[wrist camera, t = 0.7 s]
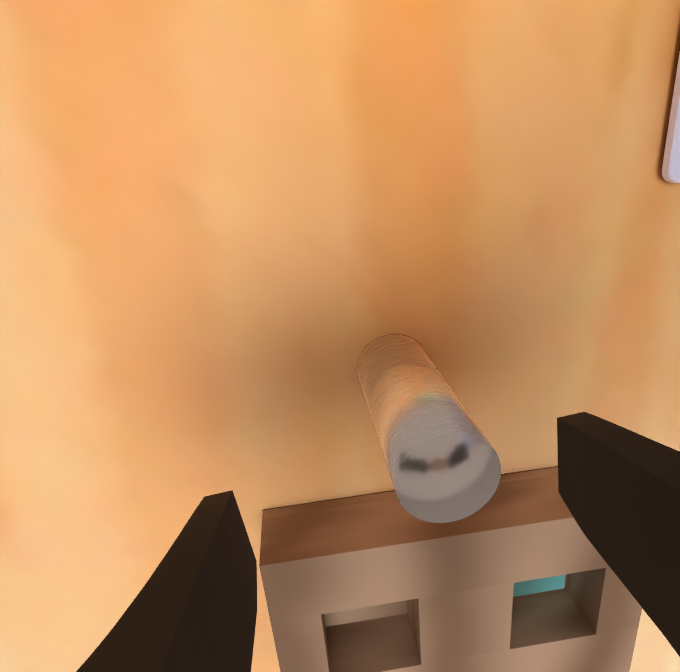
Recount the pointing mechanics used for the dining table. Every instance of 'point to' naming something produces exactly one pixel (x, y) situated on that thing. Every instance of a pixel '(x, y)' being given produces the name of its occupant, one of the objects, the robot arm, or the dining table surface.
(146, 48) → the dining table surface
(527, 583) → the hole block
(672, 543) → the robot arm
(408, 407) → the pin
